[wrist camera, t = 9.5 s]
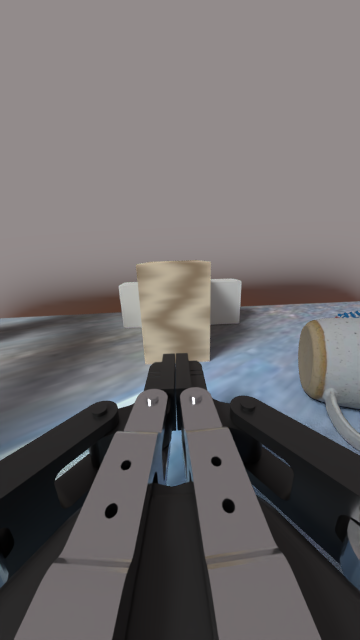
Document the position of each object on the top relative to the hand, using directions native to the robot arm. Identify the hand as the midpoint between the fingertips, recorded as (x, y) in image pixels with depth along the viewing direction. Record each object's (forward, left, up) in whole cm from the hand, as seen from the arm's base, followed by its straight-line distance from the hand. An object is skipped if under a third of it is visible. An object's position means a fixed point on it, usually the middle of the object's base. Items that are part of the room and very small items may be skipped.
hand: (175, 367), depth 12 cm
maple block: (0, +19, -6) cm, 19 cm away
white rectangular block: (+1, +28, -6) cm, 29 cm away
